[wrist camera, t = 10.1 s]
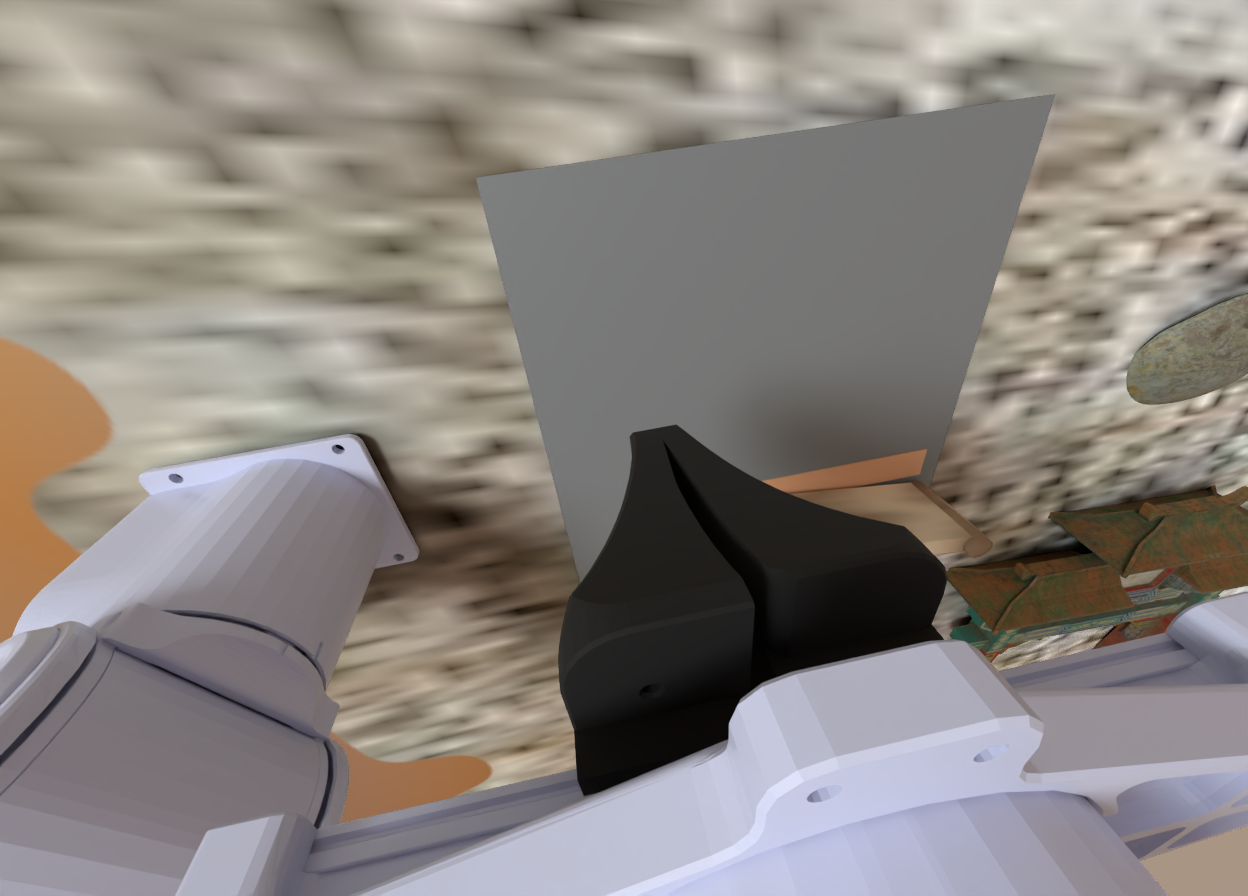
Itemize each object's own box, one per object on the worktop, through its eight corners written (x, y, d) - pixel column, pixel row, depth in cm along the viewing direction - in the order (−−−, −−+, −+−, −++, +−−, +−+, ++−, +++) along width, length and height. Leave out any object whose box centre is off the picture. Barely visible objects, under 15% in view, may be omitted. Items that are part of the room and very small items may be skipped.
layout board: (603, 672, 34) (615, 761, 29) (477, 177, 16) (450, 186, 11) (882, 611, 35) (939, 686, 30) (1040, 96, 18) (1234, 72, 13)
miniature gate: (889, 765, 44) (1051, 564, 26) (857, 705, 48) (976, 498, 30) (1135, 712, 46) (1440, 497, 28) (1084, 660, 51) (1318, 445, 33)
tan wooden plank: (724, 515, 26) (760, 583, 22) (727, 498, 25) (764, 565, 21) (918, 495, 28) (985, 556, 23) (925, 479, 27) (996, 539, 23)
